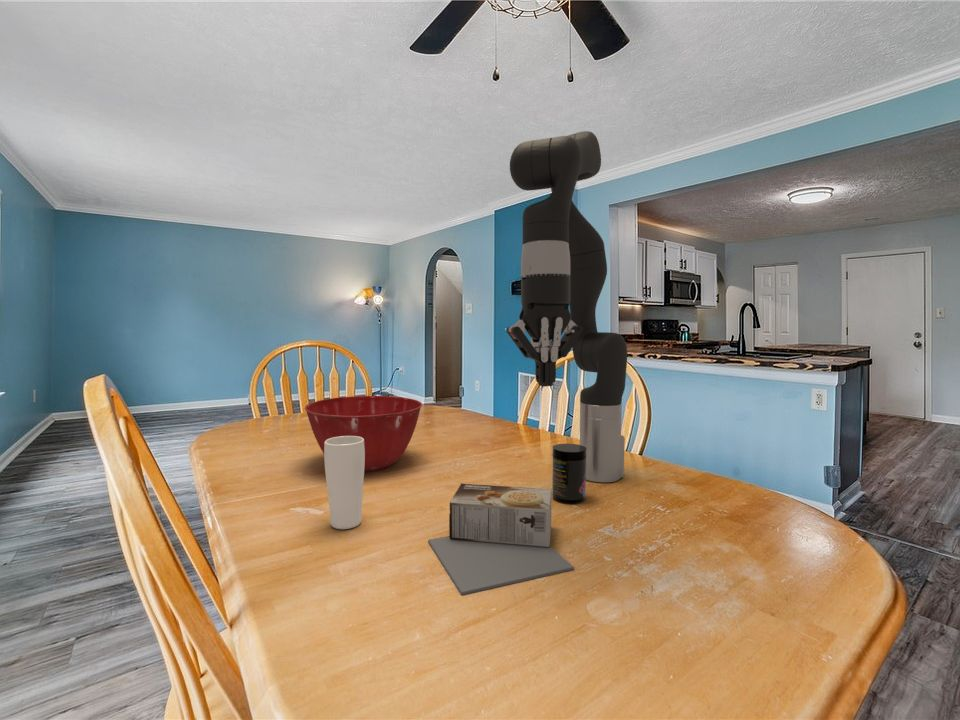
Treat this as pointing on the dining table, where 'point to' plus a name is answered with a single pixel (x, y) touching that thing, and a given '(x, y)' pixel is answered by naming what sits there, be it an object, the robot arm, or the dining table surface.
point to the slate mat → (494, 563)
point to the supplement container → (569, 473)
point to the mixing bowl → (367, 424)
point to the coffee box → (501, 515)
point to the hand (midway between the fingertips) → (545, 385)
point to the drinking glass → (345, 479)
